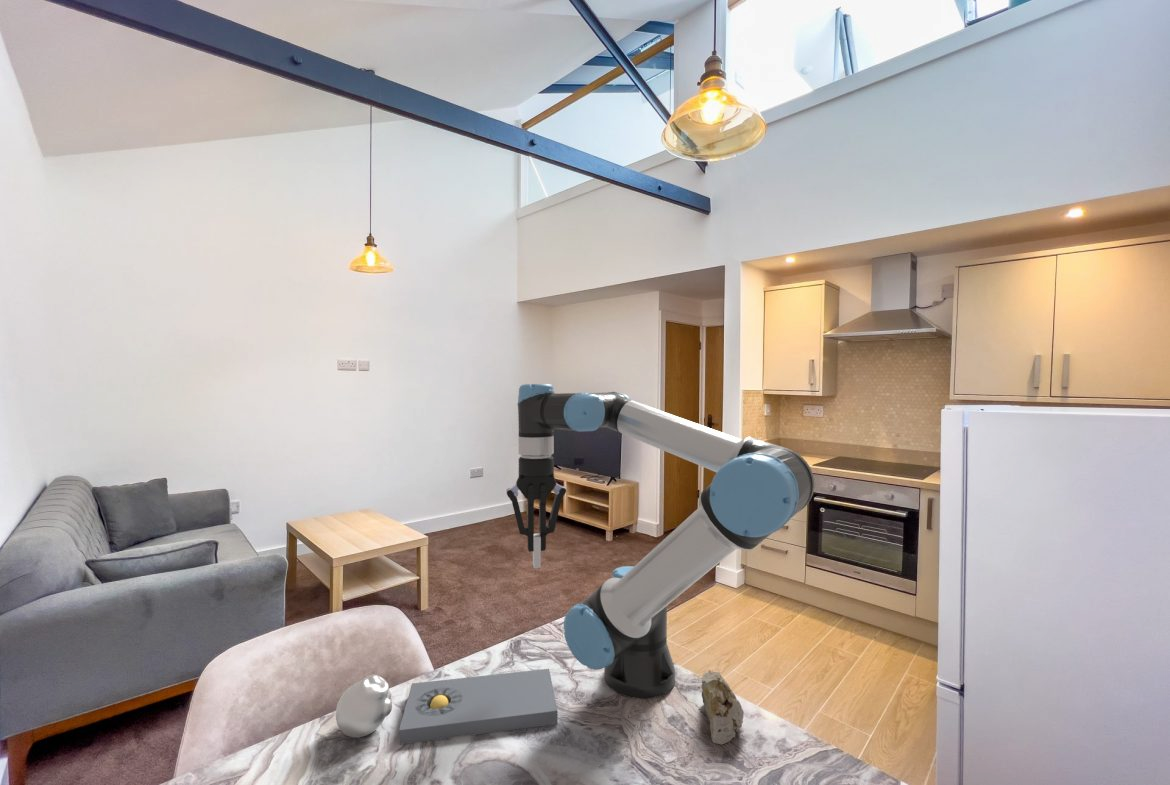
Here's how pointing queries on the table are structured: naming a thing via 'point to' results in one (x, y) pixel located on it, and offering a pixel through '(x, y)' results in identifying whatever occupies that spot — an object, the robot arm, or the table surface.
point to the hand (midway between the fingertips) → (536, 565)
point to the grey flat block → (479, 706)
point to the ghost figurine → (364, 706)
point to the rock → (721, 708)
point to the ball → (439, 702)
